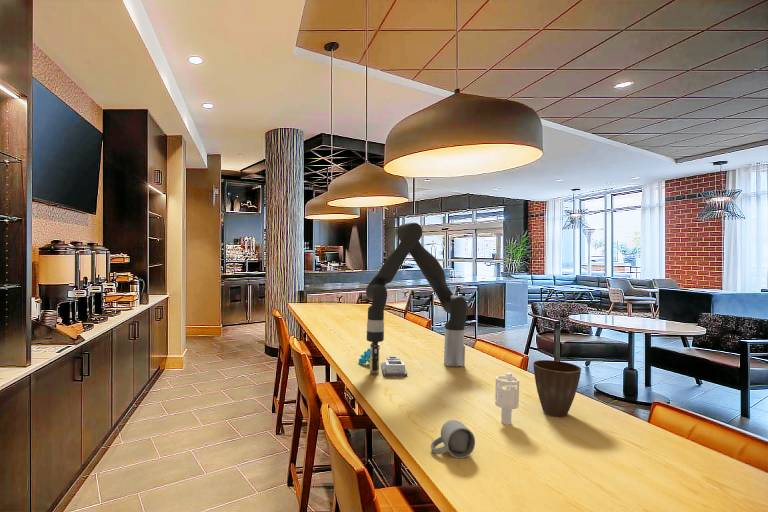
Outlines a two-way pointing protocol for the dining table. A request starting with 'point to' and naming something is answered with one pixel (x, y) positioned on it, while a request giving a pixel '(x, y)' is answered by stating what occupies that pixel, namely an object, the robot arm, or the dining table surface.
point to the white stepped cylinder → (507, 396)
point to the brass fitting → (371, 366)
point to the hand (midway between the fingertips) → (374, 368)
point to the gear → (365, 357)
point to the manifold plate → (393, 367)
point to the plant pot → (556, 385)
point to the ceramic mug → (455, 440)
